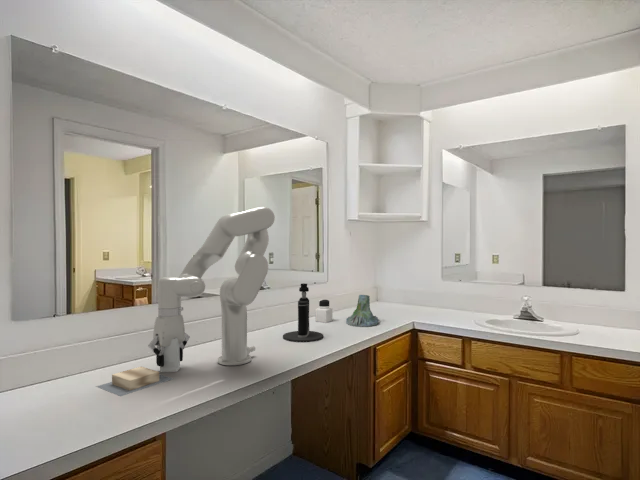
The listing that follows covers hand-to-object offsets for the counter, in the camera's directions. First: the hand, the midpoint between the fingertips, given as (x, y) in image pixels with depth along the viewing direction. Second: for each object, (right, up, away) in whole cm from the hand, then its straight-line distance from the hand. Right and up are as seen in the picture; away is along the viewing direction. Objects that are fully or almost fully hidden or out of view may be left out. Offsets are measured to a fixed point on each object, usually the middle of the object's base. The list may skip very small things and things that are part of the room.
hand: (169, 362), depth 144 cm
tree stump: (+76, -3, +83) cm, 113 cm away
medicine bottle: (+55, -3, +89) cm, 104 cm away
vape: (+45, -3, +51) cm, 68 cm away
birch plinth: (-6, -3, -13) cm, 14 cm away
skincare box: (0, -4, 0) cm, 4 cm away
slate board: (-6, -3, -13) cm, 15 cm away
